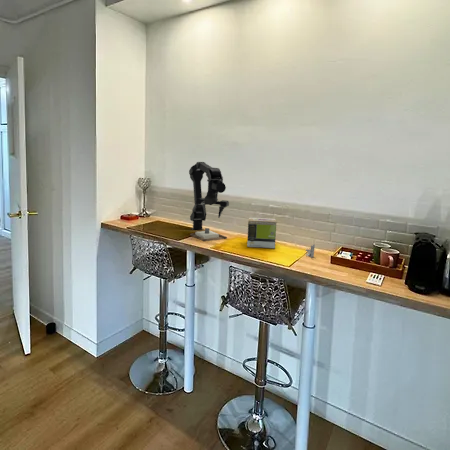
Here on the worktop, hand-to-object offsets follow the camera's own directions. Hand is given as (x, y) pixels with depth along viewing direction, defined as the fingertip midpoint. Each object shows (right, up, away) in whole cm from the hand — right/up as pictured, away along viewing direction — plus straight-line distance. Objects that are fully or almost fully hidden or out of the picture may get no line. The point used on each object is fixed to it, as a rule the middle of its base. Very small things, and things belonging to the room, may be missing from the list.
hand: (211, 216), depth 202 cm
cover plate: (-3, -11, +1) cm, 12 cm away
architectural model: (+45, -21, -30) cm, 58 cm away
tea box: (+27, -16, -12) cm, 34 cm away
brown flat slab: (-2, -12, 0) cm, 12 cm away
